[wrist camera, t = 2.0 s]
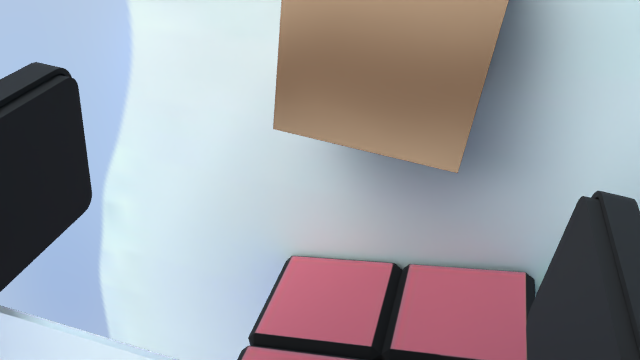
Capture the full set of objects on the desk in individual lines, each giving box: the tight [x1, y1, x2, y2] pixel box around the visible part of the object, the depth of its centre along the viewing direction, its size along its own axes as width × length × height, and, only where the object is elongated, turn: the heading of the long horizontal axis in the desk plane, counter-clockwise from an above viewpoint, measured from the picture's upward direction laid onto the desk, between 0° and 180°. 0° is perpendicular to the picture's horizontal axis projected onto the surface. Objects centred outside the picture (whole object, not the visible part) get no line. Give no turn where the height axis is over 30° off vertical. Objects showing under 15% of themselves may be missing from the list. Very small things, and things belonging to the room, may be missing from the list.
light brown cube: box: [273, 0, 509, 173], centre depth 16 cm, size 5×5×5 cm
